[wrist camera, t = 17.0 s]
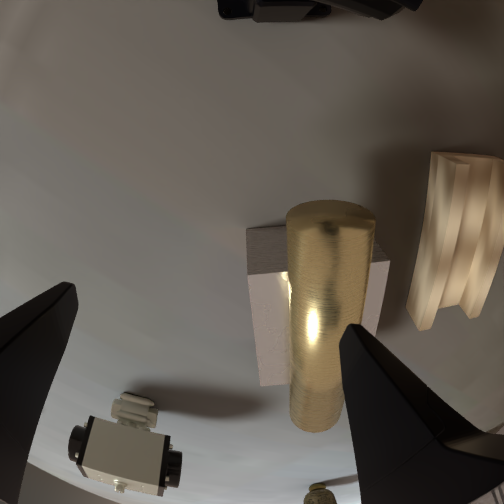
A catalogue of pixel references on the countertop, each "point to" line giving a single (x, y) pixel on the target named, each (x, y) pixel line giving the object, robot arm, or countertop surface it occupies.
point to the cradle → (277, 299)
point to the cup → (319, 495)
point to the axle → (324, 302)
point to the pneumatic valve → (126, 449)
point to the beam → (458, 236)
